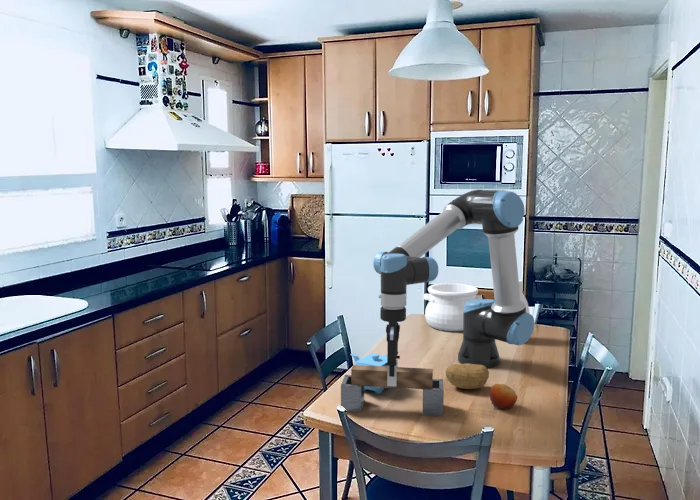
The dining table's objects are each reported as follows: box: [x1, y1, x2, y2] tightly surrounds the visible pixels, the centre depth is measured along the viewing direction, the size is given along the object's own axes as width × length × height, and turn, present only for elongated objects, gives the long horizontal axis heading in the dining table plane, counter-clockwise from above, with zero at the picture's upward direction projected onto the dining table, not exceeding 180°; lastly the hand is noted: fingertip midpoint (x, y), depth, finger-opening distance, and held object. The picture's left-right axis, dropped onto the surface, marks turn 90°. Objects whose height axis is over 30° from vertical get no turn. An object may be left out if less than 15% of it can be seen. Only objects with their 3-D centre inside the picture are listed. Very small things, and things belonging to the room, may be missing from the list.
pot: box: [423, 282, 483, 332], centre depth 269 cm, size 26×24×18 cm
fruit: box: [489, 383, 518, 410], centre depth 179 cm, size 8×8×8 cm
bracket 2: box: [422, 378, 445, 418], centre depth 177 cm, size 6×9×8 cm, turn 172°
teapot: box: [350, 352, 390, 395], centre depth 195 cm, size 16×18×11 cm
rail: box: [350, 364, 434, 390], centre depth 178 cm, size 24×4×5 cm, turn 82°
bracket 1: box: [340, 374, 365, 413], centre depth 180 cm, size 6×9×8 cm, turn 172°
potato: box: [444, 363, 490, 390], centre depth 194 cm, size 10×14×8 cm
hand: (392, 382), depth 178 cm, fingers closed on rail, 4 cm apart
